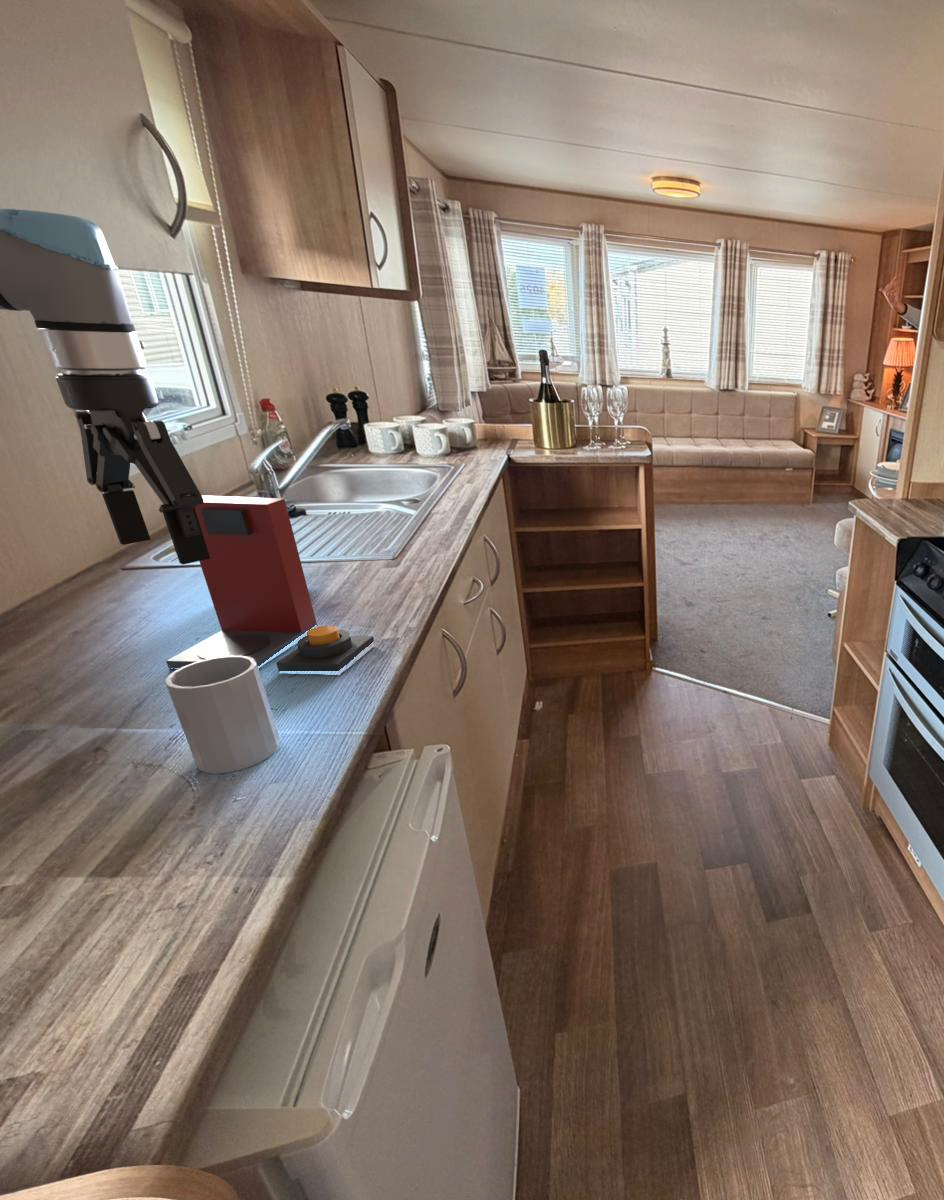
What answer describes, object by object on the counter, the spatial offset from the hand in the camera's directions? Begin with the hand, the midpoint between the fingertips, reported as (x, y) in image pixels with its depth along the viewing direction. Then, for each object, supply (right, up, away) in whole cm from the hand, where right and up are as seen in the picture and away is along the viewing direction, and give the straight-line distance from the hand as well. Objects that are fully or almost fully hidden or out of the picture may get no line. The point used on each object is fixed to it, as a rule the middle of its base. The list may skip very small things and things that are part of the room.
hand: (164, 551), depth 79 cm
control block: (+3, -16, +24) cm, 29 cm away
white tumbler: (+8, -26, +2) cm, 27 cm away
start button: (+3, -13, +23) cm, 26 cm away
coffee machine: (-13, -14, +27) cm, 33 cm away
